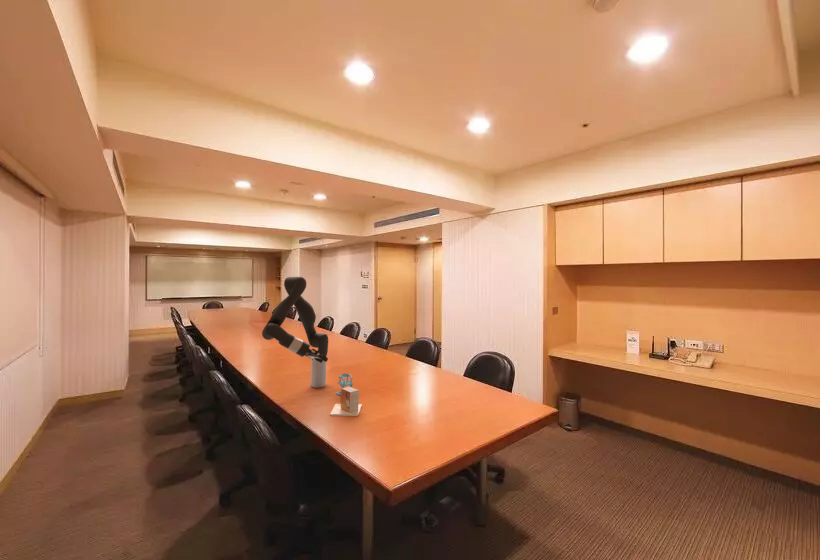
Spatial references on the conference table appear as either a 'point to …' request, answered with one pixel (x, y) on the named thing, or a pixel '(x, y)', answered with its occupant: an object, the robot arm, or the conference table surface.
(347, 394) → the small box
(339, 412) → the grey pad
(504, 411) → the conference table surface
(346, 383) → the chair
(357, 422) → the conference table surface
